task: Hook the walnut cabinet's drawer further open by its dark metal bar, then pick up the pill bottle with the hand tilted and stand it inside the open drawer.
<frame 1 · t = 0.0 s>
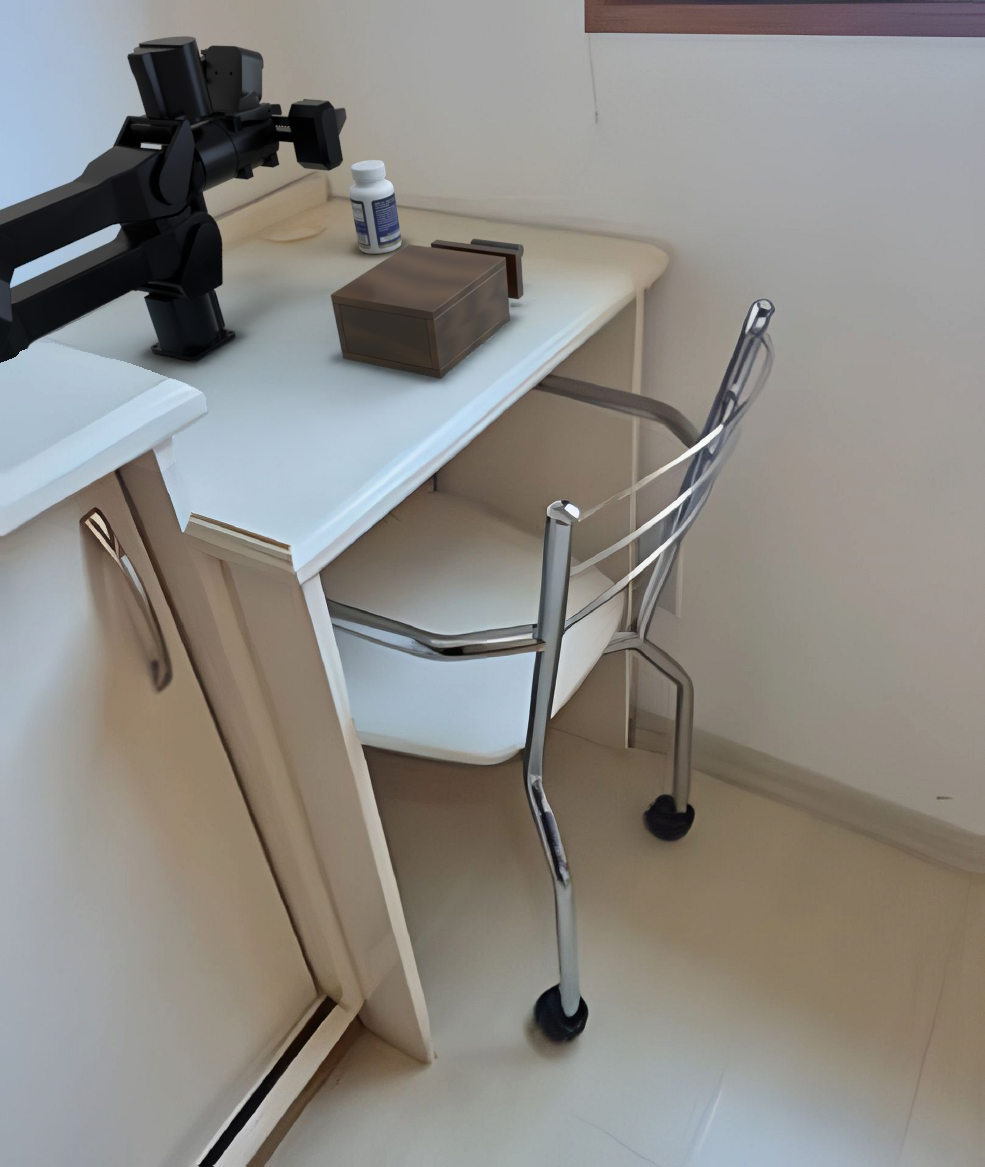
hand: (311, 111, 103), 17 cm above the table, tool horizontal, fingers open, 9 cm apart
pill bottle: (380, 248, 116), on the table
drawer: (460, 281, 97), point 3 cm above the table, slide at 3.0 cm
cabinet: (428, 338, 94), on the table
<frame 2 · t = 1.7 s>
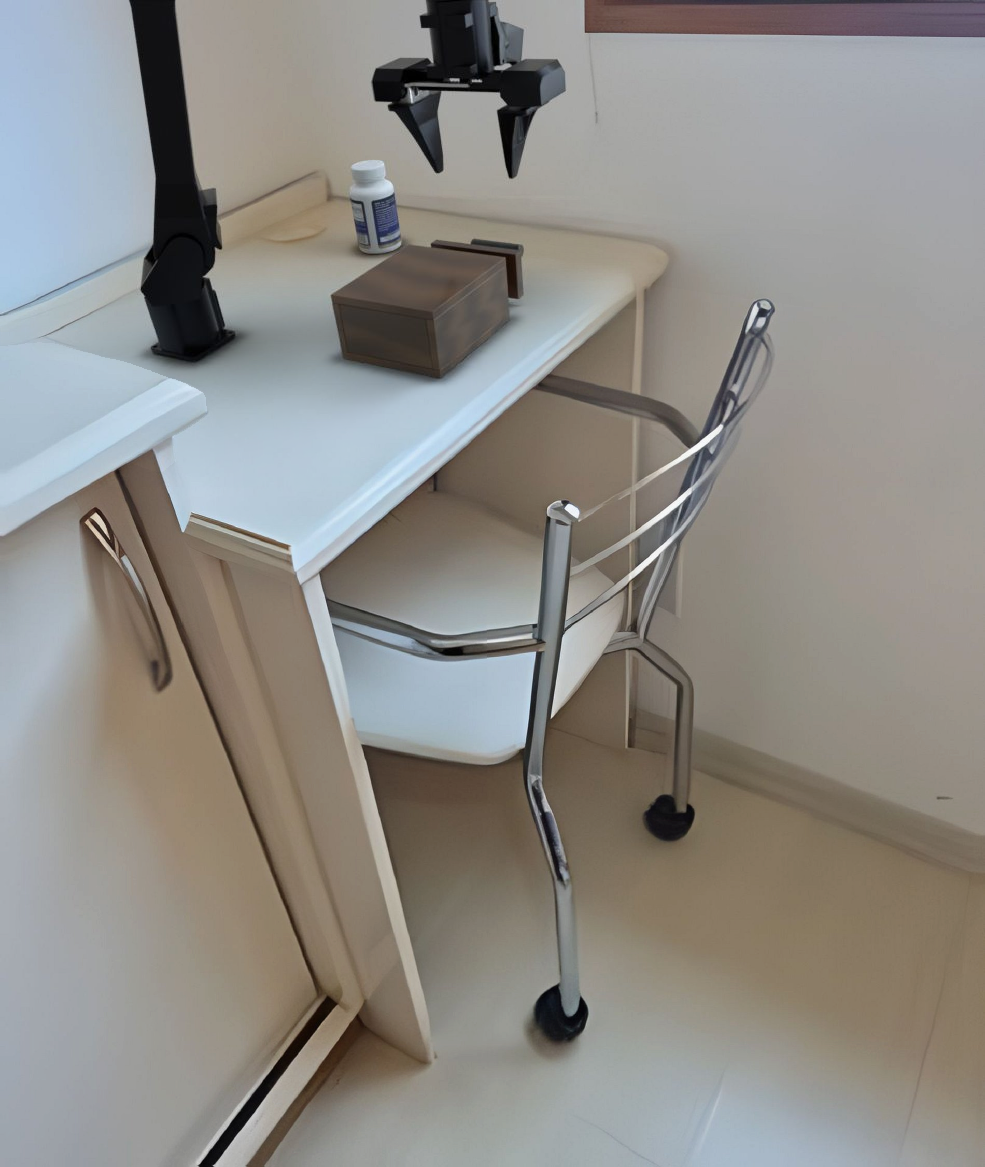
hand: (475, 175, 94), 12 cm above the table, tool pointing down, fingers open, 8 cm apart
nothing on the table moved.
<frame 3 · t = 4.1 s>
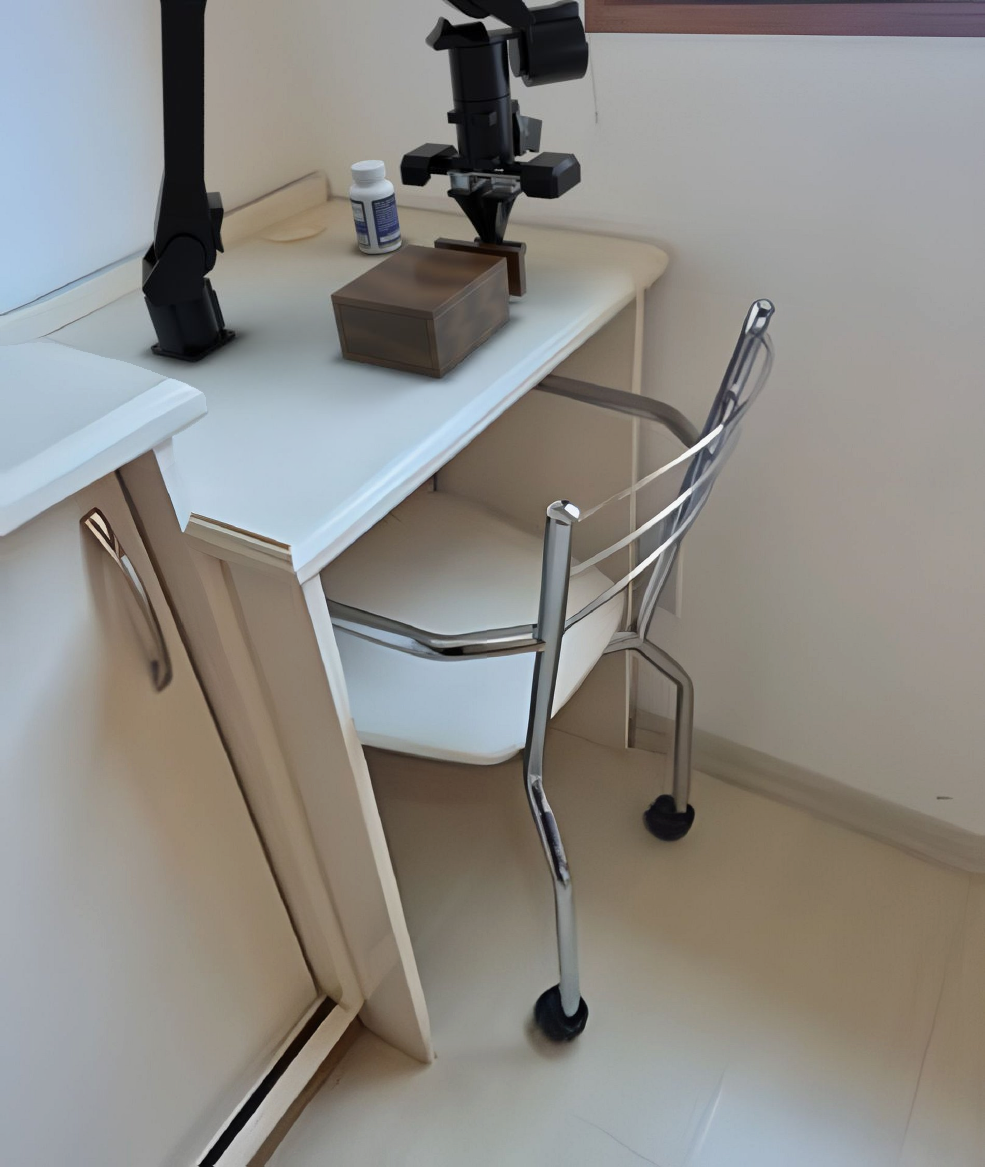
hand: (494, 252, 101), 4 cm above the table, tool pointing down, fingers closed, pressing on drawer
drawer: (463, 279, 97), point 3 cm above the table, slide at 3.7 cm, touching gripper
everything else where it was.
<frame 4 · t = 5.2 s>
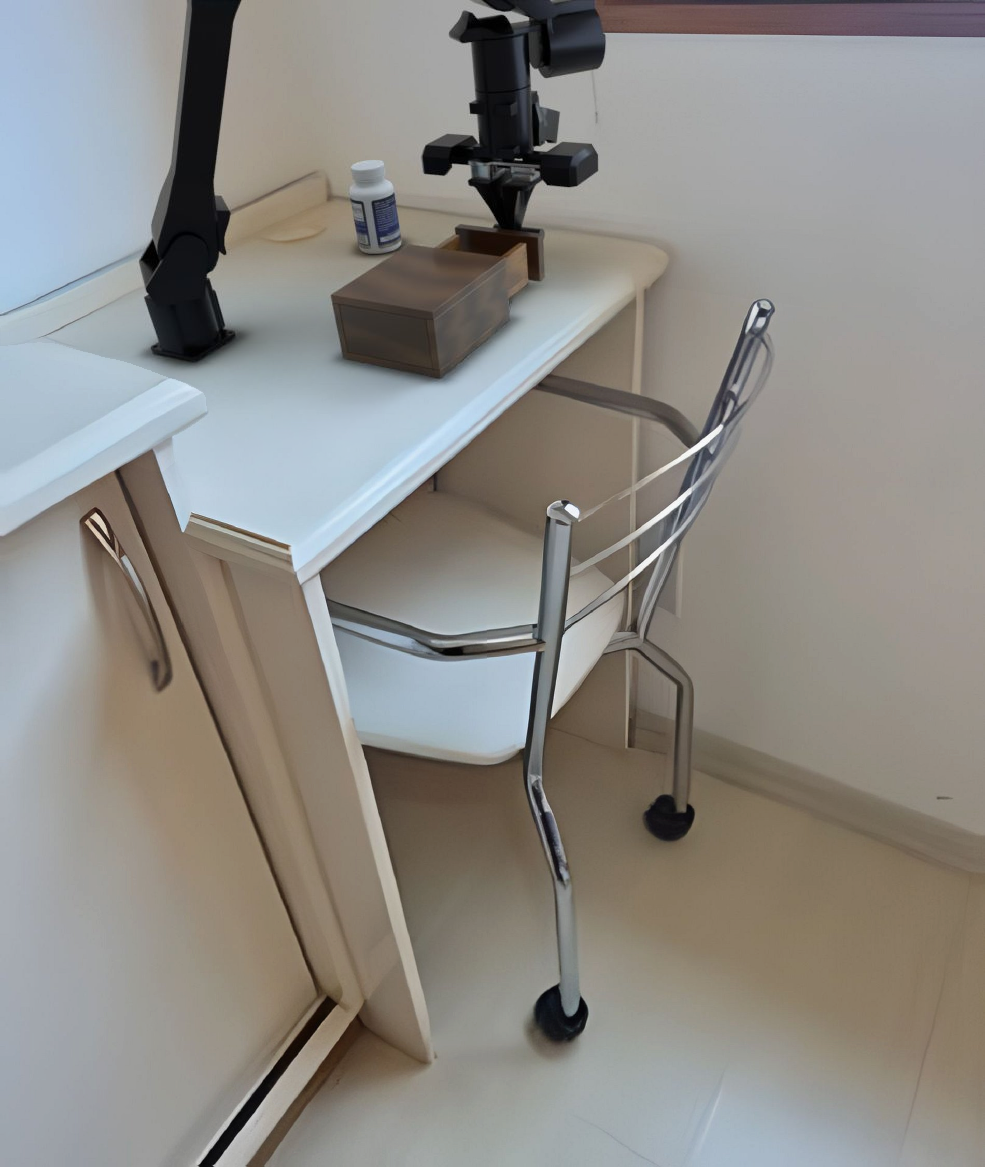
hand: (513, 240, 104), 4 cm above the table, tool pointing down, fingers closed, pressing on drawer
drawer: (484, 263, 100), point 3 cm above the table, slide at 7.9 cm, touching gripper
everything else where it was.
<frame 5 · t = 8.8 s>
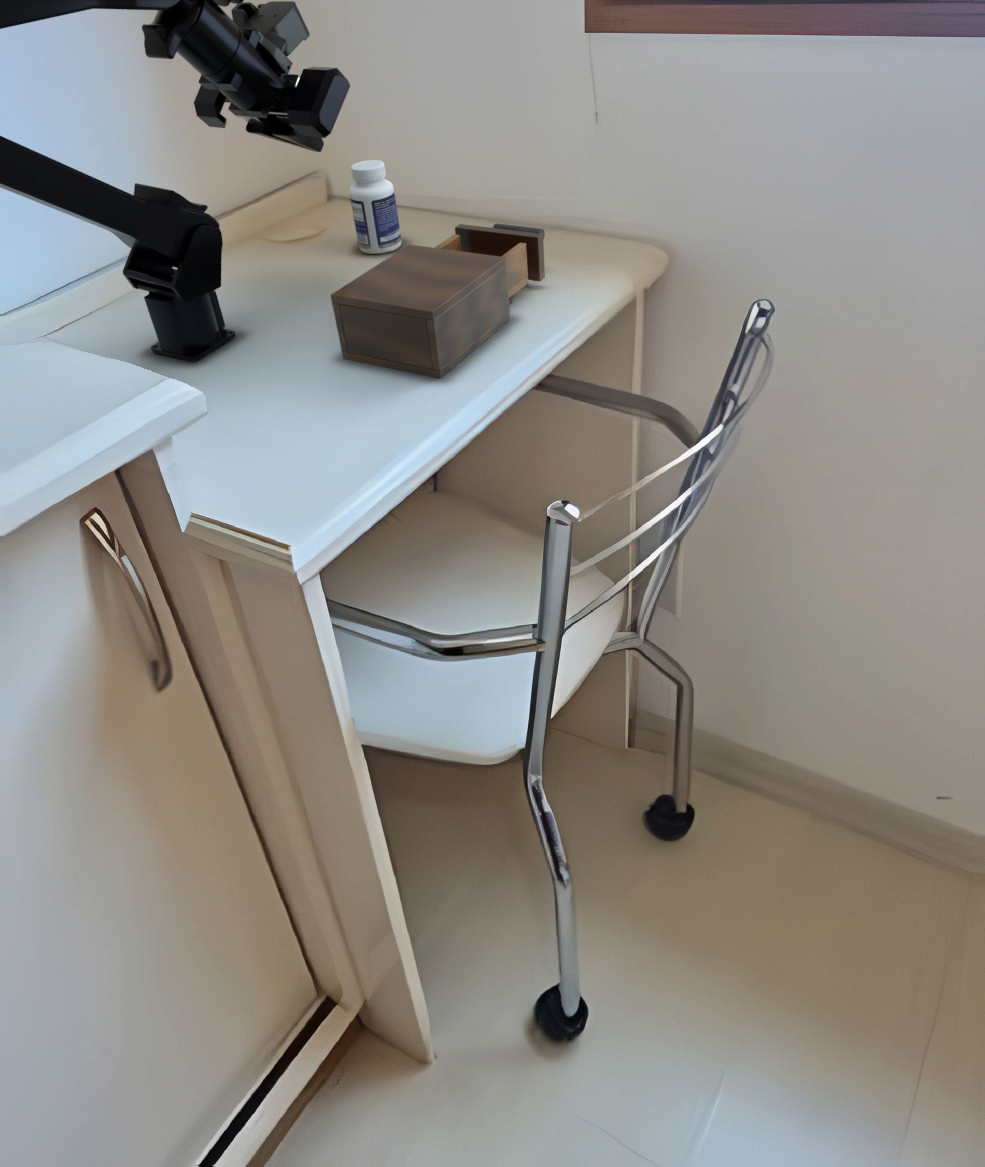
hand: (320, 147, 102), 14 cm above the table, tool tilted 40°, fingers closed
drawer: (484, 263, 100), point 3 cm above the table, slide at 7.9 cm
everything else where it was.
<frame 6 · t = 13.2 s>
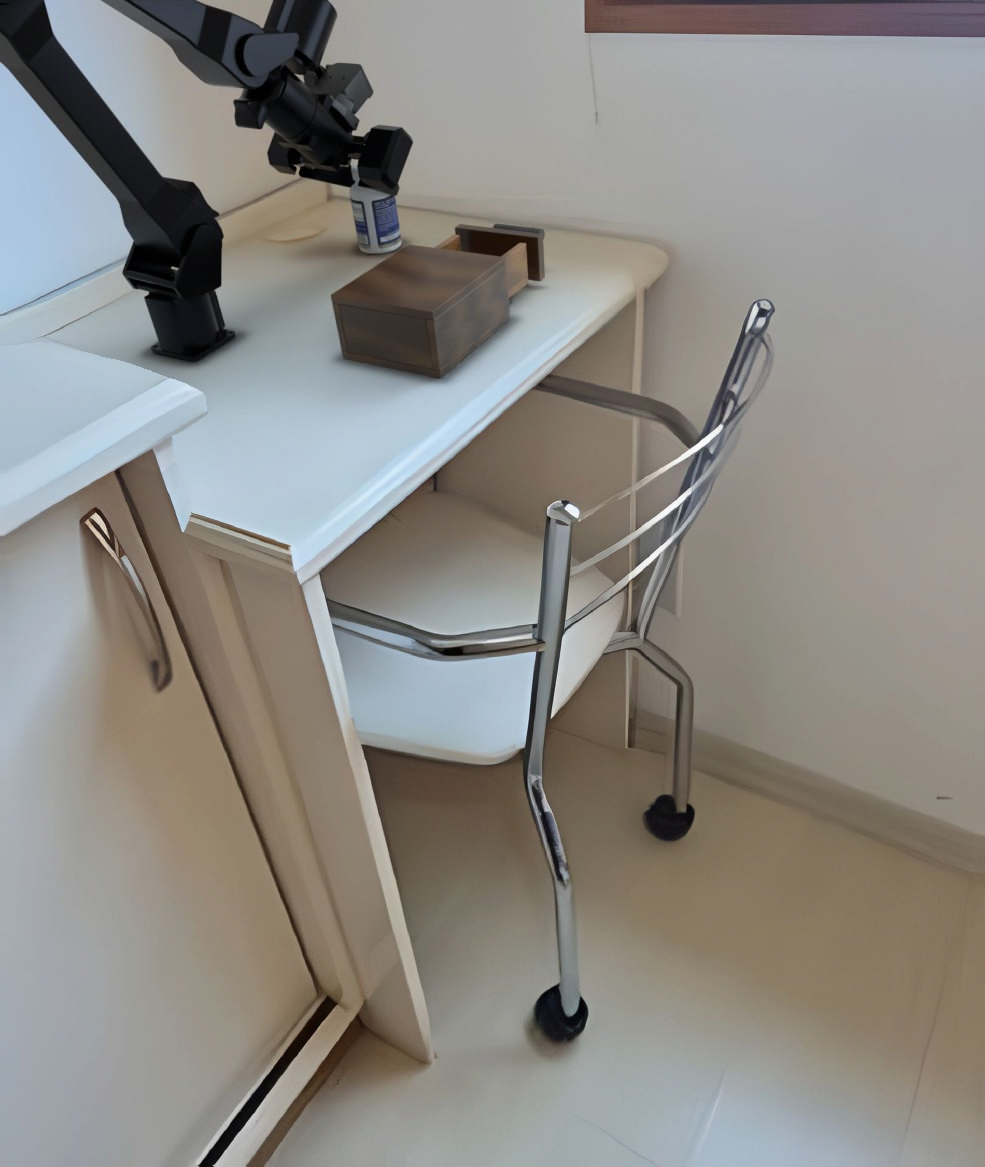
hand: (379, 189, 112), 7 cm above the table, tool tilted 45°, fingers closed on pill bottle, 5 cm apart
pill bottle: (380, 248, 116), on the table, touching gripper
everything else where it was.
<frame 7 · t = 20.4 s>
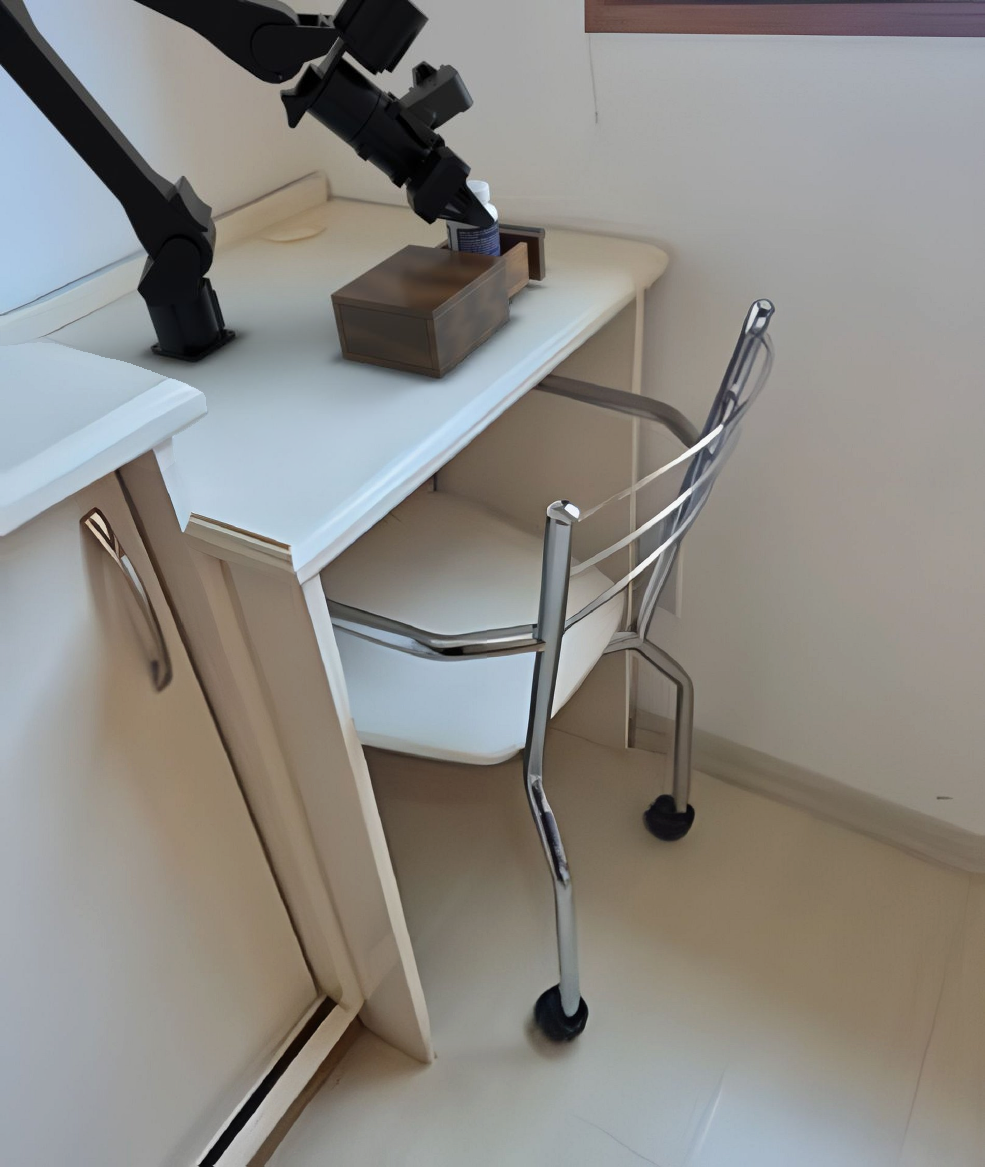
hand: (484, 216, 96), 9 cm above the table, tool tilted 45°, fingers closed on pill bottle, 5 cm apart
pill bottle: (477, 282, 100), point 2 cm above the table, touching drawer, gripper
drawer: (485, 263, 100), point 3 cm above the table, slide at 8.1 cm, touching pill bottle
when the fingers open (9 cm above the table, at t = 20.6 s): pill bottle stays where it is, resting on drawer.
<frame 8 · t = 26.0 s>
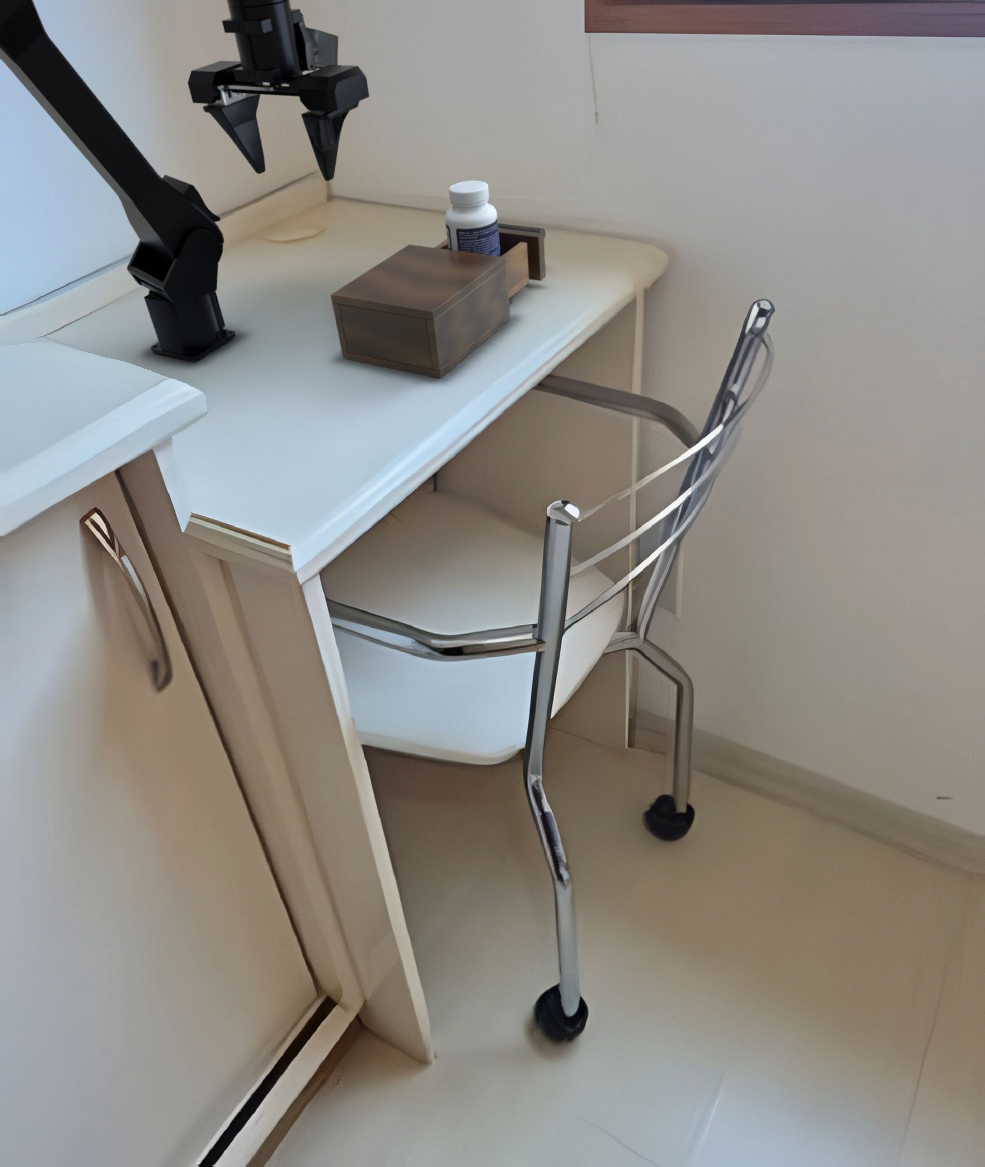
hand: (294, 176, 97), 13 cm above the table, tool pointing down, fingers open, 9 cm apart
pill bottle: (477, 282, 100), point 2 cm above the table, touching drawer
everything else where it was.
at the end: drawer slide at 8.1 cm; pill bottle inside the target area in the drawer (0.5 cm from its centre), point 1.8 cm above the cabinet's base; pill bottle tilted 0° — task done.
